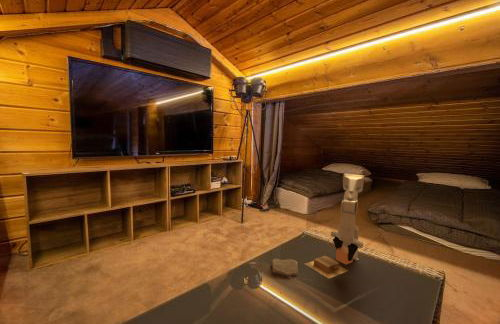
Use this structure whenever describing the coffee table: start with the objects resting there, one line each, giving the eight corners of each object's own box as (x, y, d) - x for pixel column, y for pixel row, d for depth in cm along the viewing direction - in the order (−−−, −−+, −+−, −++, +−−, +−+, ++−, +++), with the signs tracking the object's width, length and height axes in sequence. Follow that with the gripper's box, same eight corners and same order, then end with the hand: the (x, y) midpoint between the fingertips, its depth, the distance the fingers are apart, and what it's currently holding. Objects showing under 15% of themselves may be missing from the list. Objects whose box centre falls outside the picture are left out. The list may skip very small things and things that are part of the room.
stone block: (299, 282, 101) (296, 266, 110) (300, 273, 99) (297, 257, 109) (271, 280, 102) (271, 264, 111) (272, 271, 100) (271, 255, 110)
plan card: (345, 285, 97) (345, 284, 97) (361, 294, 91) (361, 293, 91) (336, 289, 94) (336, 288, 94) (352, 299, 88) (352, 298, 88)
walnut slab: (324, 261, 115) (325, 255, 115) (338, 269, 108) (339, 262, 108) (313, 265, 110) (314, 259, 110) (327, 273, 104) (328, 267, 103)
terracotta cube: (342, 257, 107) (343, 246, 106) (352, 261, 103) (353, 250, 102) (335, 259, 104) (336, 248, 103) (345, 264, 100) (346, 253, 99)
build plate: (323, 259, 119) (323, 257, 119) (348, 272, 107) (348, 270, 107) (304, 265, 111) (304, 263, 111) (328, 281, 100) (328, 278, 100)
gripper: (327, 223, 106) (324, 252, 107) (357, 234, 94) (354, 267, 95) (337, 221, 110) (334, 249, 111) (367, 231, 98) (363, 263, 99)
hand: (344, 257), depth 103 cm, fingers closed on terracotta cube, 5 cm apart
